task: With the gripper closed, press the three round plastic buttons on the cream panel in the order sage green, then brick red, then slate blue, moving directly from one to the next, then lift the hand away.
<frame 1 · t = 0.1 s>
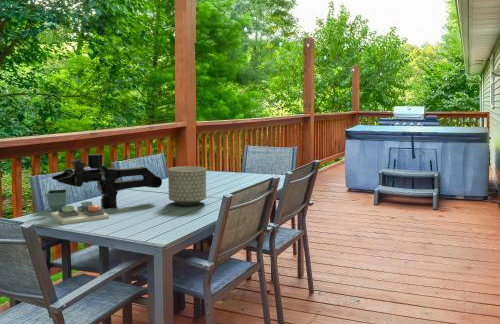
hand: (54, 179, 233), 17 cm above the table, tool horizontal, fingers open, 9 cm apart
flower pot: (57, 210, 245), on the table
brick button: (93, 208, 229), point 4 cm above the table, slide at 0.0 cm
planter: (187, 204, 259), on the table
slate button: (86, 205, 237), point 4 cm above the table, slide at 0.0 cm
button panel: (79, 216, 231), on the table
sage button: (68, 209, 227), point 4 cm above the table, slide at 0.0 cm
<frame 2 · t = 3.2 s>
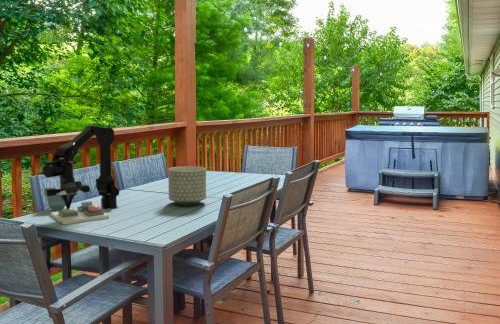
hand: (68, 208, 227), 4 cm above the table, tool pointing down, fingers closed, pressing on sage button
sage button: (68, 211, 227), point 3 cm above the table, slide at 0.9 cm, touching gripper
everything else where it was.
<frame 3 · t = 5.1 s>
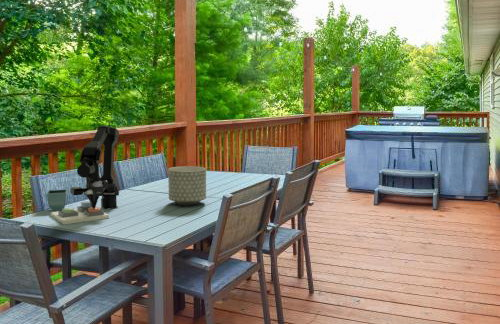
hand: (93, 208, 229), 4 cm above the table, tool pointing down, fingers closed, pressing on brick button
brick button: (93, 210, 229), point 3 cm above the table, slide at 0.9 cm, touching gripper
sage button: (68, 211, 227), point 3 cm above the table, slide at 0.9 cm
everything else where it was.
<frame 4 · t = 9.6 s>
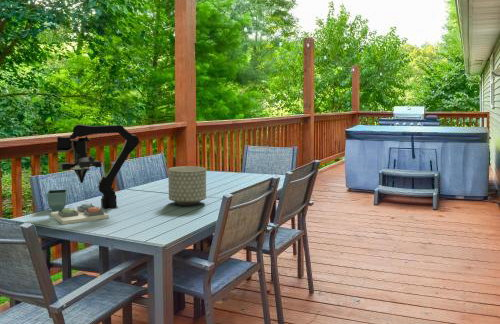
hand: (81, 182, 244), 13 cm above the table, tool pointing down, fingers closed
brick button: (93, 210, 229), point 3 cm above the table, slide at 0.9 cm
slate button: (86, 206, 237), point 3 cm above the table, slide at 0.9 cm
everything else where it was.
at the end: sage button slide at 0.9 cm; brick button slide at 0.9 cm; slate button slide at 0.9 cm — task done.
